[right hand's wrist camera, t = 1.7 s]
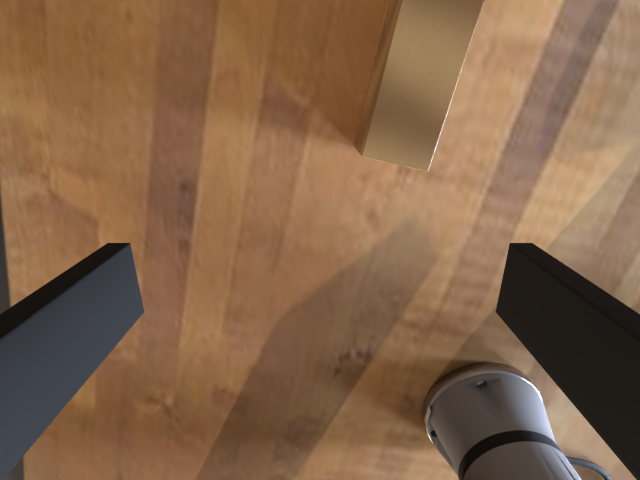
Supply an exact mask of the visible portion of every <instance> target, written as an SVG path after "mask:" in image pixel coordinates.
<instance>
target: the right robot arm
mask: <svg viewBox="0 0 640 480" xmlns="http://www.w3.org/2000/svg"><path fill="white" fill-rule="evenodd" d="M143 313H144V308H143V303H142V299H141V294H140V289H139V284H138V279H137V274H136V269H135V265H134V260H133V255H132V250H131V245H130V243H107V244H106V245H104V246H103V247H101V248H100V249H98V250H97V251H95V252H94V253H92V254H91V255H89V256H88V257H86V258H85V259H83V260H82V261H80V262H79V263H77V264H76V265H74V266H73V267H71V268H70V269H68V270H67V271H65V272H64V273H62V274H61V275H59V276H58V277H56V278H55V279H53V280H51V281H50V282H48V283H47V284H45V285H44V286H42V287H41V288H39V289H38V290H36V291H35V292H33V293H32V294H30V295H29V296H27V297H26V298H24V299H23V300H21V301H20V302H18V303H17V304H15V305H14V306H12V307H11V308H9V309H8V310H6V311H5V312H3V313H2V314H0V480H3V479H4V478H5V477H6V476H7V475H8V473H9V472H10V471H11V470H12V468H13V467H14V466H15V465H16V464H17V463H18V461H19V460H20V459H21V458H22V457H23V456H24V454H25V453H26V452H27V451H28V450H29V448H30V447H31V446H32V445H33V444H34V442H35V441H36V440H37V439H38V438H39V436H40V435H41V434H42V433H43V432H44V431H45V429H46V428H47V427H48V426H49V425H50V423H51V422H52V421H53V420H54V419H55V417H56V416H57V415H58V414H59V413H60V411H61V410H62V409H63V408H64V407H65V405H66V404H67V403H68V402H69V401H70V400H71V398H72V397H73V396H74V395H75V394H76V392H77V391H78V390H79V389H80V388H81V386H82V385H83V384H84V383H85V382H86V380H87V379H88V378H89V377H90V376H91V375H92V373H93V372H94V371H95V370H96V369H97V367H98V366H99V365H100V364H101V363H102V361H103V360H104V359H105V358H106V357H107V355H108V354H109V353H110V352H111V351H112V350H113V348H114V347H115V346H116V345H117V344H118V342H119V341H120V340H121V339H122V338H123V336H124V335H125V334H126V333H127V332H128V330H129V329H130V328H131V327H132V326H133V325H134V323H135V322H136V321H137V320H138V319H139V317H140V316H141V315H142V314H143ZM496 313H497V314H498V315H499V316H500V317H501V319H502V320H503V321H504V322H505V323H506V325H507V326H508V327H509V328H510V329H511V330H512V332H513V333H514V334H515V335H516V336H517V338H518V339H519V340H520V341H521V342H522V344H523V345H524V346H525V347H526V348H527V350H528V351H529V352H530V353H531V354H532V355H533V357H534V358H535V359H536V360H537V361H538V363H539V364H540V365H541V366H542V367H543V369H544V370H545V371H546V372H547V373H548V375H549V376H550V377H551V378H552V379H553V380H554V382H555V383H556V384H557V385H558V386H559V388H560V389H561V390H562V391H563V392H564V394H565V395H566V396H567V397H568V398H569V400H570V401H571V402H572V403H573V404H574V405H575V407H576V408H577V409H578V410H579V411H580V413H581V414H582V415H583V416H584V417H585V419H586V420H587V421H588V422H589V423H590V425H591V426H592V427H593V428H594V429H595V431H596V432H597V433H598V434H599V435H600V436H601V438H602V439H603V440H604V441H605V442H606V444H607V445H608V446H609V447H610V448H611V450H612V451H613V452H614V453H615V454H616V456H617V457H618V458H619V459H620V460H621V461H622V463H623V464H624V465H625V466H626V467H627V469H628V470H629V471H630V472H631V473H632V475H633V476H634V477H635V478H636V479H637V480H640V314H638V313H637V312H635V311H634V310H632V309H631V308H629V307H628V306H626V305H625V304H623V303H622V302H620V301H619V300H617V299H616V298H614V297H613V296H611V295H610V294H608V293H607V292H605V291H604V290H602V289H601V288H599V287H598V286H596V285H595V284H593V283H592V282H590V281H589V280H587V279H585V278H584V277H582V276H581V275H579V274H578V273H576V272H575V271H573V270H572V269H570V268H569V267H567V266H566V265H564V264H563V263H561V262H560V261H558V260H557V259H555V258H554V257H552V256H551V255H549V254H548V253H546V252H545V251H543V250H542V249H540V248H539V247H537V246H536V245H534V244H533V243H510V245H509V250H508V255H507V260H506V265H505V269H504V274H503V279H502V284H501V289H500V294H499V299H498V303H497V308H496ZM422 415H423V421H424V424H425V427H426V430H427V433H428V436H429V438H430V440H431V441H432V443H433V444H434V445H435V447H436V448H437V449H438V451H439V452H440V453H441V455H442V456H443V457H444V458H445V460H446V461H447V462H448V464H449V465H450V466H451V468H452V469H453V470H454V472H455V473H456V474H457V476H458V478H459V480H582V479H581V478H580V477H579V475H578V474H577V472H576V471H575V470H574V468H573V467H572V465H571V464H574V465H579V466H584V467H587V468H590V469H593V470H595V471H597V472H598V473H599V474H601V475H602V476H603V478H604V479H605V480H612V479H611V477H610V476H609V475H608V473H607V472H606V471H605V470H603V469H602V468H601V467H599V466H598V465H596V464H594V463H591V462H589V461H586V460H582V459H577V458H572V457H567V456H565V455H564V454H563V453H562V451H561V450H560V448H559V447H558V445H557V444H556V442H555V440H554V437H553V434H552V430H551V427H550V424H549V420H548V417H547V414H546V411H545V408H544V404H543V400H542V398H541V395H540V394H539V392H538V391H537V389H536V388H535V387H534V385H533V384H532V383H531V381H530V380H529V379H528V378H527V377H526V376H525V375H524V374H523V373H522V372H520V371H518V370H517V369H514V368H512V367H510V366H507V365H503V364H497V363H480V364H474V365H469V366H466V367H463V368H460V369H457V370H455V371H453V372H451V373H449V374H448V375H446V376H445V377H443V378H442V379H441V380H440V381H438V382H437V383H436V384H435V385H434V386H433V388H432V389H431V390H430V392H429V393H428V395H427V397H426V399H425V401H424V405H423V410H422Z"/></svg>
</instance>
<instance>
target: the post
mask: <svg viewBox="0 0 640 480" xmlns="http://www.w3.org/2000/svg"><path fill="white" fill-rule="evenodd" d="M483 3H484V0H390V4H389V8H388V12H387V16H386V20H385V24H384V28H383V32H382V36H381V40H380V44H379V48H378V52H377V56H376V61H375V65H374V69H373V73H372V77H371V81H370V85H369V89H368V93H367V97H366V101H365V105H364V109H363V113H362V117H361V121H360V125H359V129H358V133H357V137H356V141H355V145H354V147H355V148H356V149H357V151H358V152H359V153H360V155H361V156H362V157H365V158H370V159H374V160H379V161H383V162H387V163H392V164H396V165H401V166H405V167H410V168H414V169H418V170H423V171H427V172H428V170H429V167H430V164H431V161H432V158H433V155H434V152H435V149H436V146H437V143H438V140H439V137H440V134H441V131H442V128H443V125H444V121H445V118H446V115H447V112H448V109H449V106H450V103H451V100H452V97H453V94H454V91H455V88H456V85H457V82H458V79H459V76H460V73H461V70H462V67H463V64H464V61H465V58H466V54H467V51H468V48H469V45H470V42H471V39H472V36H473V33H474V30H475V27H476V24H477V21H478V18H479V15H480V12H481V9H482V6H483Z"/></svg>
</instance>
